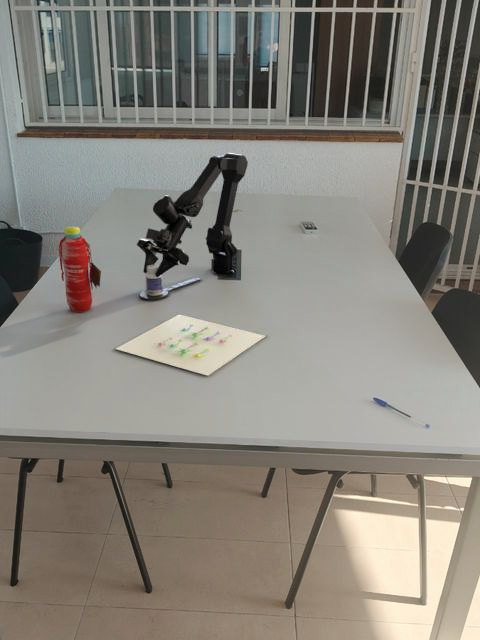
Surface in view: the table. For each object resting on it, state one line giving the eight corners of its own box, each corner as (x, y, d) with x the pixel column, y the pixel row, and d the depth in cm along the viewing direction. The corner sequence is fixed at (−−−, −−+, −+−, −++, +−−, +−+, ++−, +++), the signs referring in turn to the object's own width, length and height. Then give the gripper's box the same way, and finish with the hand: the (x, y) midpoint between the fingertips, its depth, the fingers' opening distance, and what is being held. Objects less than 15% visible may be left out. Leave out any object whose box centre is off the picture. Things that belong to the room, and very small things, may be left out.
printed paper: (207, 376, 176) (207, 371, 176) (115, 349, 190) (114, 345, 189) (265, 337, 198) (266, 332, 198) (179, 315, 212) (178, 310, 211)
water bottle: (105, 304, 220) (99, 223, 207) (104, 313, 213) (96, 230, 200) (66, 304, 219) (57, 224, 206) (63, 314, 212) (54, 231, 199)
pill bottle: (165, 294, 225) (164, 267, 221) (150, 297, 223) (148, 270, 218) (158, 289, 229) (157, 262, 225) (143, 292, 227) (142, 265, 222)
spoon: (190, 277, 243) (190, 275, 242) (207, 282, 238) (207, 280, 238) (134, 296, 226) (134, 294, 225) (152, 302, 221) (151, 300, 221)
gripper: (139, 212, 222) (115, 255, 221) (181, 223, 212) (157, 267, 210) (158, 232, 231) (135, 273, 230) (199, 243, 221) (176, 286, 219)
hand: (150, 274), depth 222 cm, fingers closed on pill bottle, 5 cm apart
